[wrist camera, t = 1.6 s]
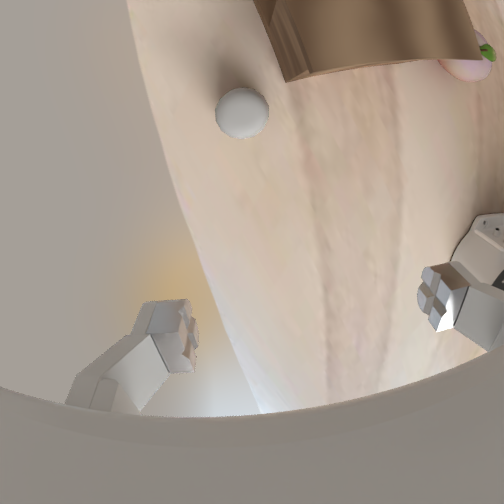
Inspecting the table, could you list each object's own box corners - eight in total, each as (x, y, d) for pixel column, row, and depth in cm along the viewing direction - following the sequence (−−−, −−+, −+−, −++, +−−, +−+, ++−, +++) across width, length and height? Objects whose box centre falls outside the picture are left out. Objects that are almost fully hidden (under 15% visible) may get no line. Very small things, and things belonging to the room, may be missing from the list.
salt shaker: (210, 116, 31) (188, 122, 20) (238, 80, 29) (233, 64, 18) (248, 143, 33) (248, 163, 22) (277, 107, 31) (294, 108, 20)
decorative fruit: (428, 83, 28) (474, 85, 19) (411, 30, 24) (453, 19, 16) (470, 79, 26) (514, 83, 18) (455, 31, 23) (497, 25, 14)
